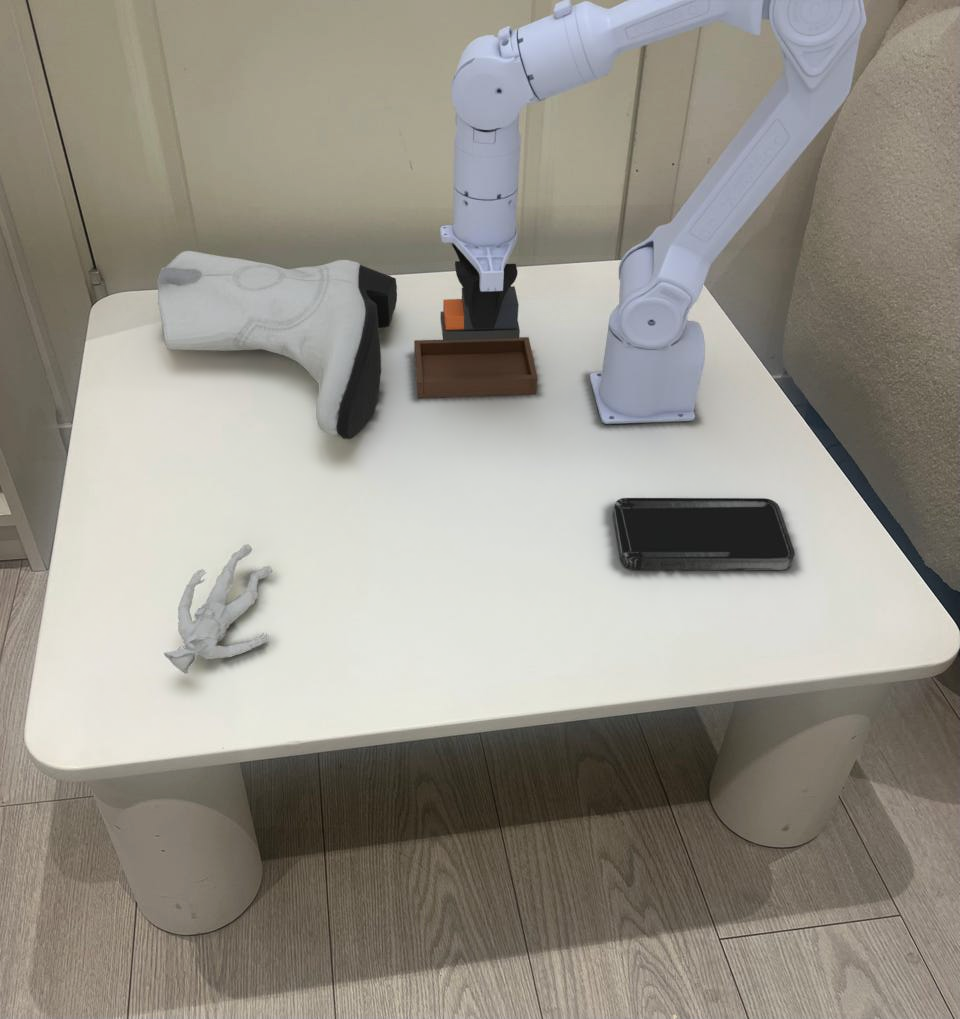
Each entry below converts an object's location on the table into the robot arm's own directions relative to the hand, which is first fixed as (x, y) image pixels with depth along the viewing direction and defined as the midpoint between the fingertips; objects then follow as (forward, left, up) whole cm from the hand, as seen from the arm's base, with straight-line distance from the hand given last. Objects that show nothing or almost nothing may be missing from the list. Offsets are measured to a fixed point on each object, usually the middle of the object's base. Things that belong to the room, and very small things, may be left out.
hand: (481, 315), depth 99 cm
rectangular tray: (0, -2, -8) cm, 9 cm away
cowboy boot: (+22, -4, -9) cm, 24 cm away
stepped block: (0, 0, -2) cm, 2 cm away
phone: (-18, +23, -9) cm, 30 cm away
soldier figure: (+23, +30, -9) cm, 39 cm away
